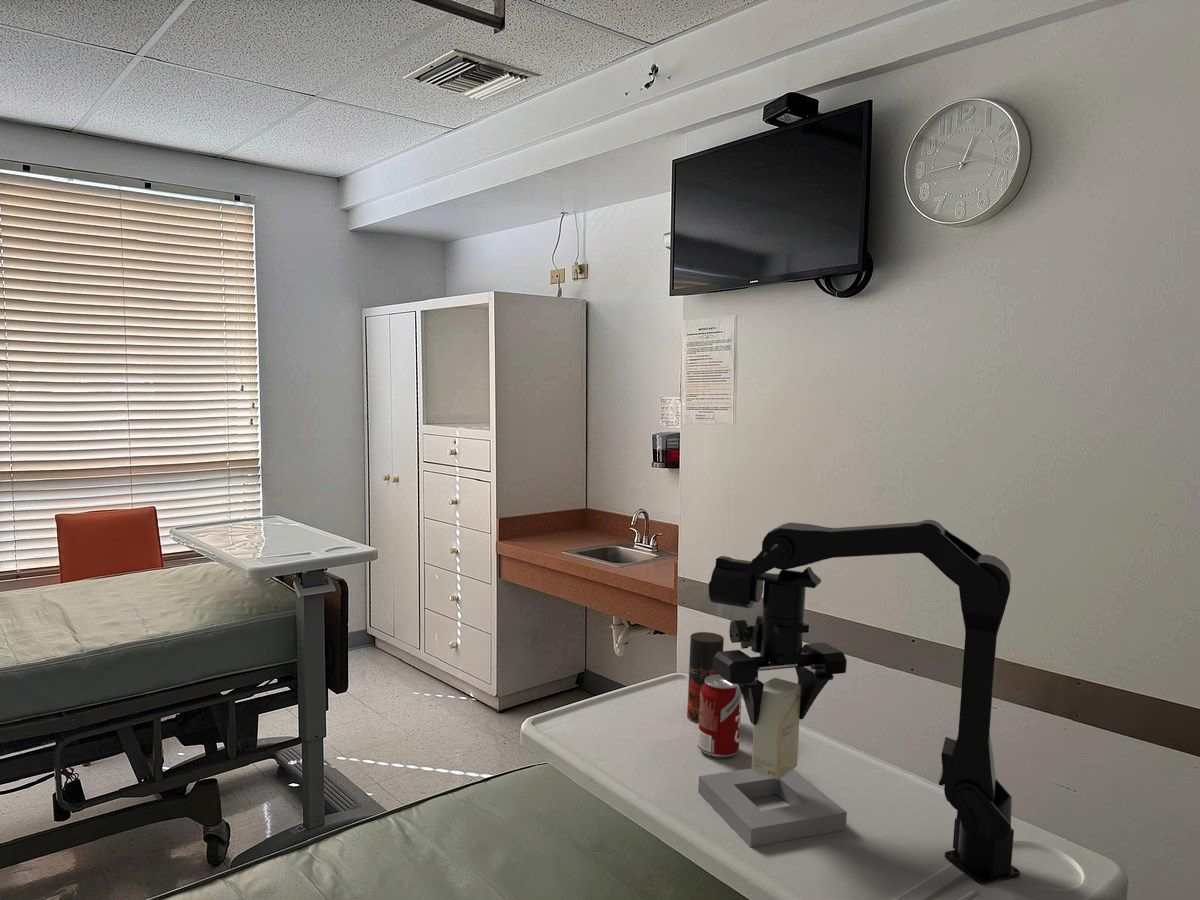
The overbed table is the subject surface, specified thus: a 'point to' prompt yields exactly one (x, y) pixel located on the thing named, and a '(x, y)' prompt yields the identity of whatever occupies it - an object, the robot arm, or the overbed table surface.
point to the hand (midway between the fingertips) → (776, 721)
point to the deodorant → (701, 667)
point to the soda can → (719, 717)
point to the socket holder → (777, 824)
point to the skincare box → (777, 729)
